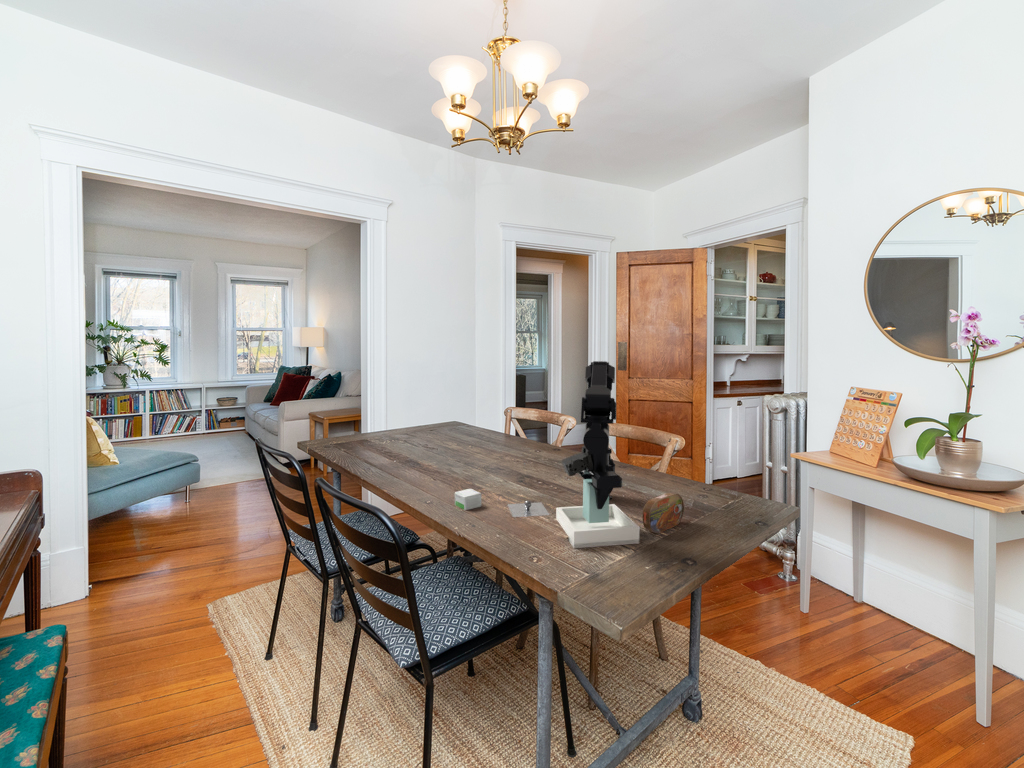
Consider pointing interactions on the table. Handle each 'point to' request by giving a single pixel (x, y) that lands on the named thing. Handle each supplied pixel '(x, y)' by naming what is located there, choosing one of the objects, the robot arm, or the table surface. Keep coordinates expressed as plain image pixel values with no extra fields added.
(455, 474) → the table surface
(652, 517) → the tin
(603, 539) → the bin
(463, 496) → the small box
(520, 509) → the stud plate
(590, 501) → the block
